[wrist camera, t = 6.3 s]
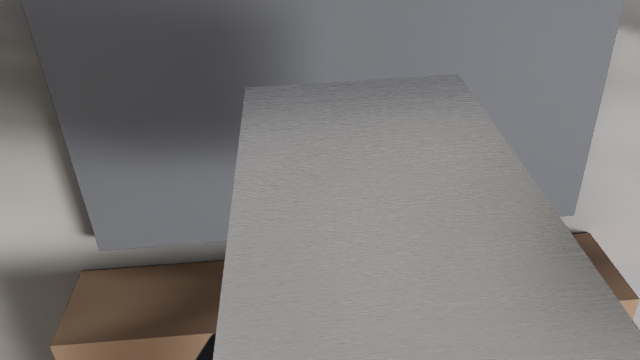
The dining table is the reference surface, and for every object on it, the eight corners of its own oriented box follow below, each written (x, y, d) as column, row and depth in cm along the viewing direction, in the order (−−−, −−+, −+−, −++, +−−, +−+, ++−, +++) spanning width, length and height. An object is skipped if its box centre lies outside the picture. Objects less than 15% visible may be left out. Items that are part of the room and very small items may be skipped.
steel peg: (458, 74, 11) (756, 493, 4) (443, 242, 13) (623, 702, 6) (245, 87, 11) (190, 543, 4) (265, 254, 13) (251, 737, 6)
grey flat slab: (633, -108, 13) (648, -104, 13) (565, 203, 18) (573, 215, 17) (10, -72, 13) (-1, -67, 12) (104, 238, 17) (99, 251, 17)
